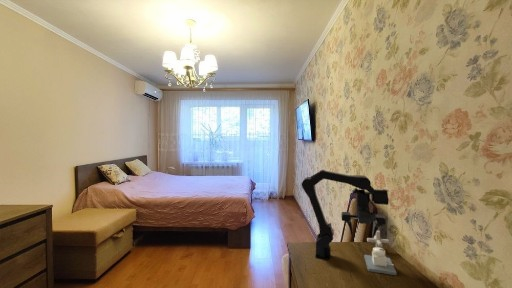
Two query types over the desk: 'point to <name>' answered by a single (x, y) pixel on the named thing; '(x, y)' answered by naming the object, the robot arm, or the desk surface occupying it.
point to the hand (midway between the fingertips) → (362, 235)
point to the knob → (379, 256)
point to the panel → (380, 269)
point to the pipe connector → (377, 240)
